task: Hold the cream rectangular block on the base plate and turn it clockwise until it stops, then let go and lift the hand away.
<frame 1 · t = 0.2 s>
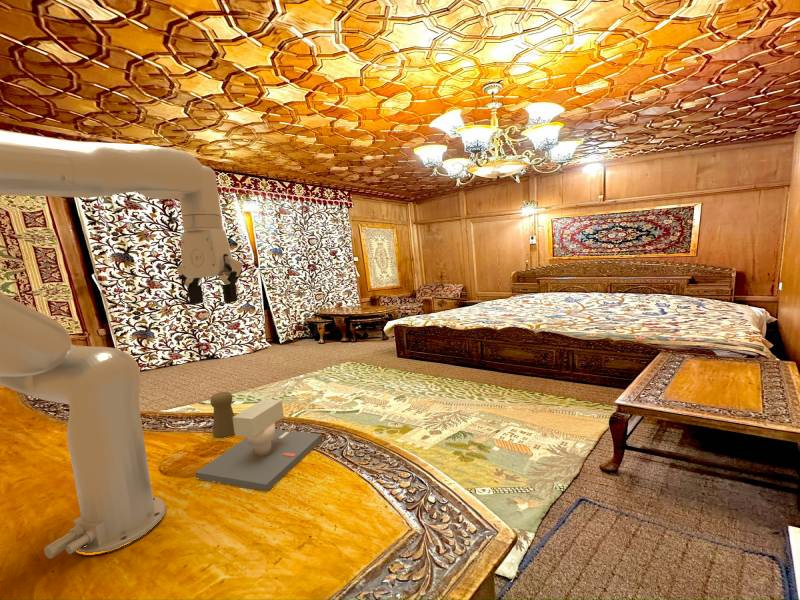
hand: (213, 302, 80), 36 cm above the table, tool pointing down, fingers open, 9 cm apart
base plate: (264, 457, 81), on the table
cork: (225, 433, 94), on the table
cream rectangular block: (260, 422, 80), point 8 cm above the table, hinge at 0.0°
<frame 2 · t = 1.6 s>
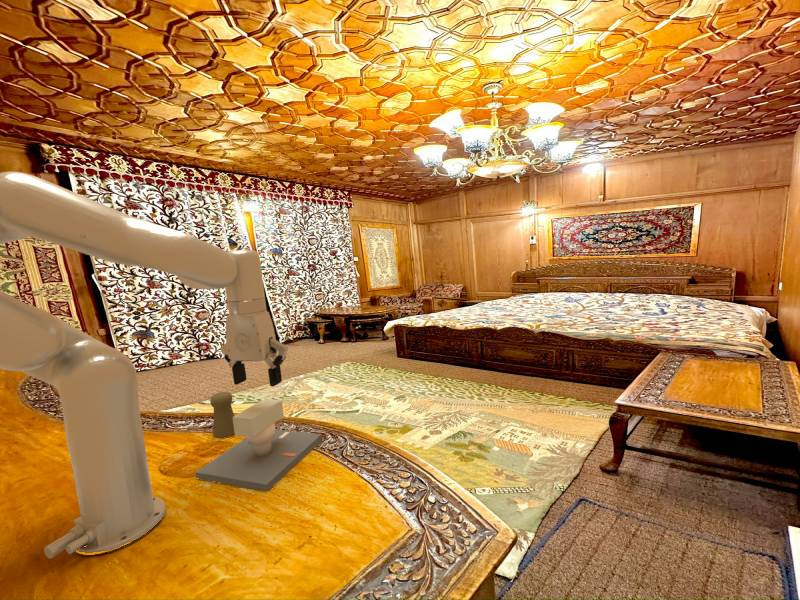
hand: (258, 383, 79), 17 cm above the table, tool pointing down, fingers open, 9 cm apart
nothing on the table moved.
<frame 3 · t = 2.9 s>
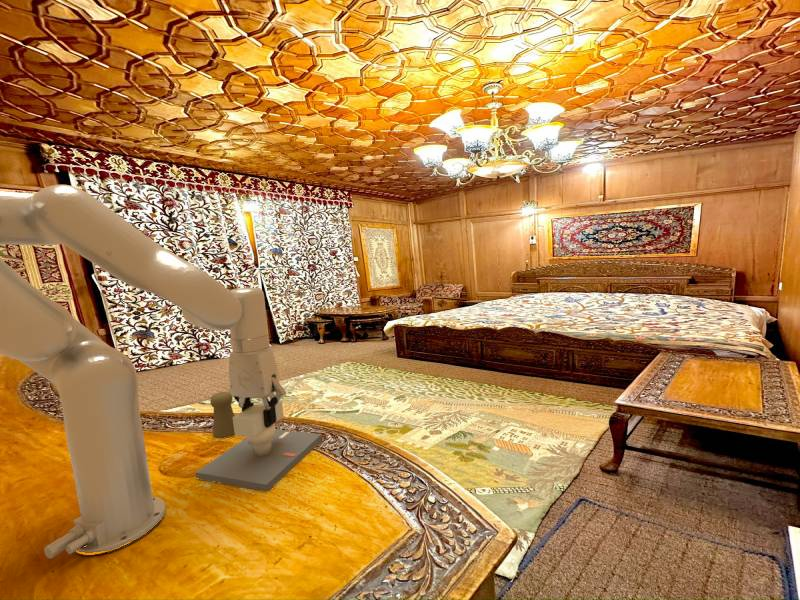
hand: (260, 422, 80), 8 cm above the table, tool pointing down, fingers closed on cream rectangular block, 5 cm apart
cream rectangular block: (260, 422, 80), point 8 cm above the table, hinge at 0.0°, touching gripper
everything else where it was.
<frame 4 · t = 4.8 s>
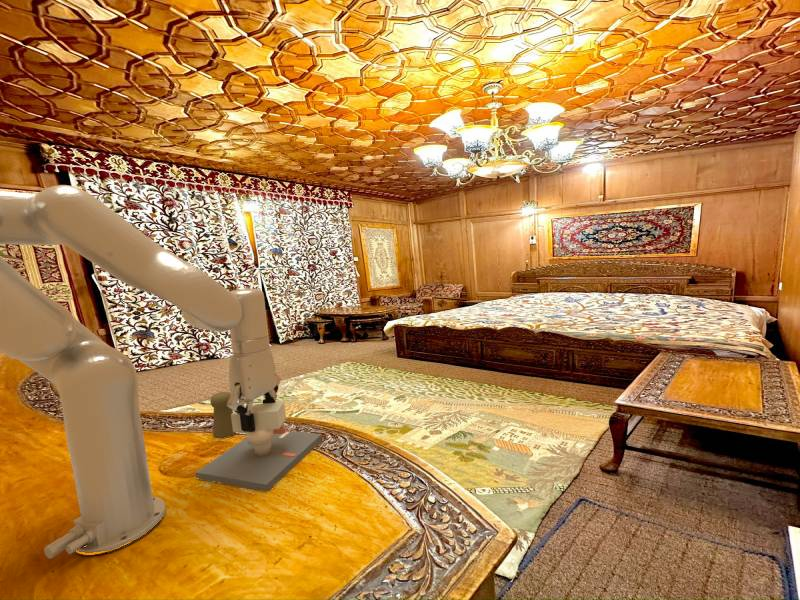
hand: (260, 422, 80), 8 cm above the table, tool pointing down, fingers closed on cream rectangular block, 6 cm apart
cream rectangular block: (261, 423, 80), point 8 cm above the table, hinge at 69.6°, touching gripper
everything else where it was.
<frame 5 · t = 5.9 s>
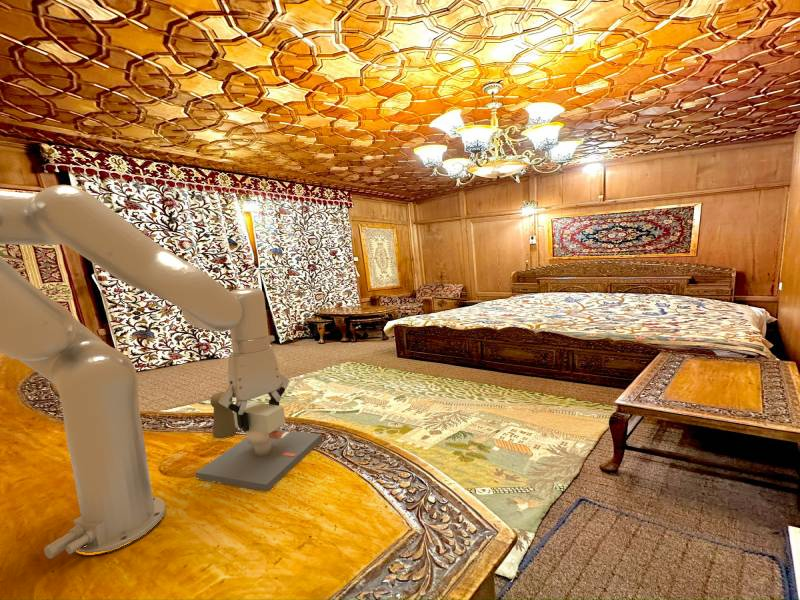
hand: (260, 422, 80), 8 cm above the table, tool pointing down, fingers closed on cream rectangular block, 6 cm apart
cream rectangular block: (261, 423, 80), point 8 cm above the table, hinge at 96.2°, touching gripper
everything else where it was.
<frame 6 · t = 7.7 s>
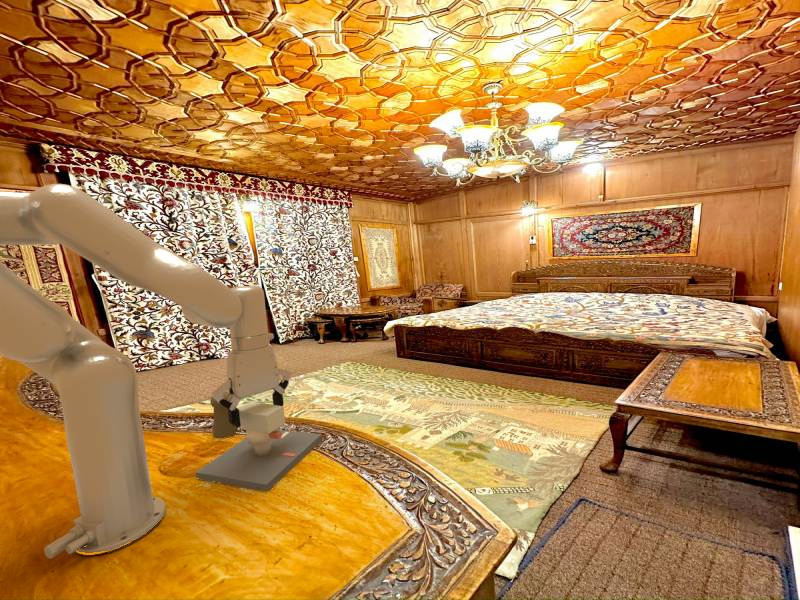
hand: (258, 417, 79), 10 cm above the table, tool pointing down, fingers open, 9 cm apart
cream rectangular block: (261, 423, 80), point 8 cm above the table, hinge at 96.6°
everything else where it was.
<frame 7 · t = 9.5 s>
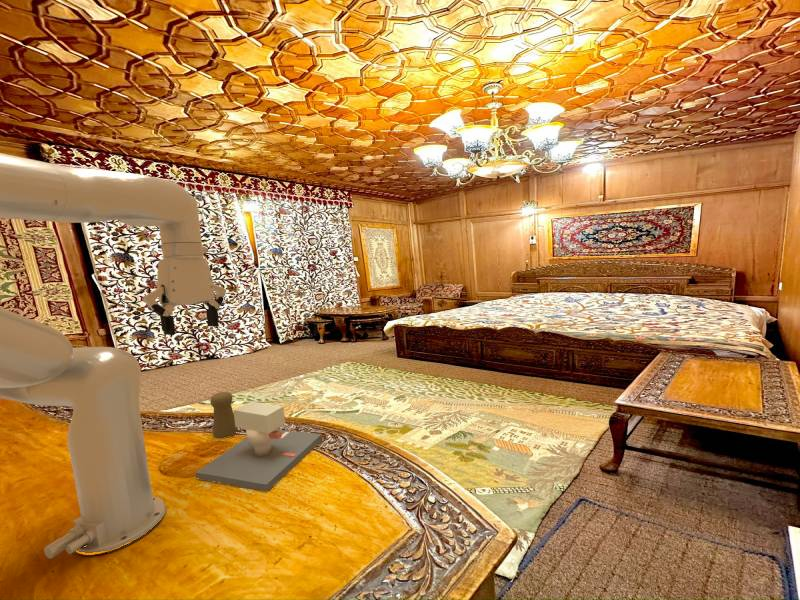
hand: (192, 330, 79), 30 cm above the table, tool pointing down, fingers open, 9 cm apart
nothing on the table moved.
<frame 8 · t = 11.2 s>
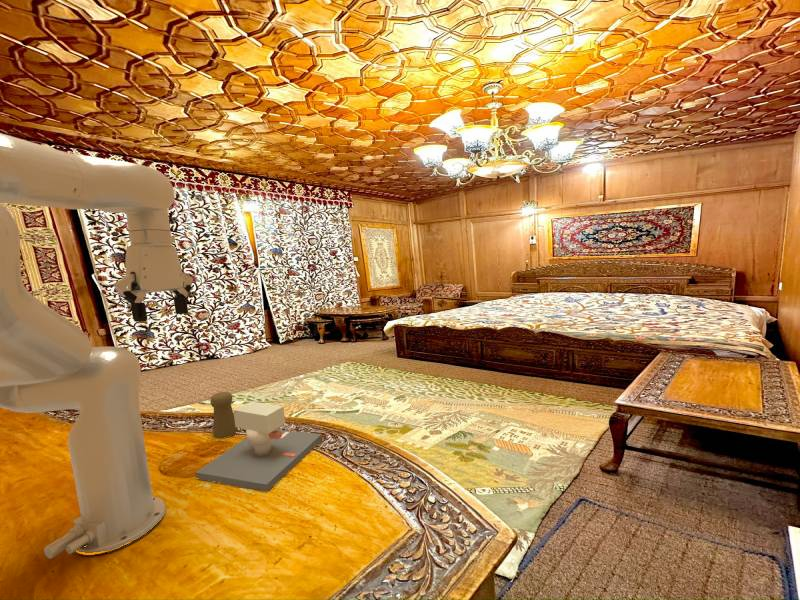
hand: (162, 317, 80), 33 cm above the table, tool pointing down, fingers open, 9 cm apart
nothing on the table moved.
at the end: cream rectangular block at +97° (first picture: +0°); the gripper is holding nothing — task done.
